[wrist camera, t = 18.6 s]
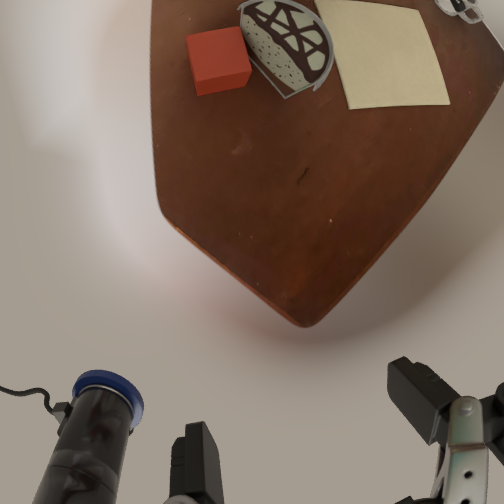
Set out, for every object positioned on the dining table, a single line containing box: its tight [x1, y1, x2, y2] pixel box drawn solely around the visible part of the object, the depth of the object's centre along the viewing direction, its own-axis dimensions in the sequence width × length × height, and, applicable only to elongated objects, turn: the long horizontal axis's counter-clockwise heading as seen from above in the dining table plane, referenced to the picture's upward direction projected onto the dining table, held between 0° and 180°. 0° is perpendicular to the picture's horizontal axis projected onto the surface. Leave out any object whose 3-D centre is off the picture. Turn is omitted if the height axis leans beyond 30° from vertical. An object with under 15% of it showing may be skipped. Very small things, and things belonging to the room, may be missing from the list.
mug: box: [434, 0, 483, 24], centre depth 30 cm, size 10×7×7 cm
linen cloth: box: [314, 0, 450, 109], centre depth 35 cm, size 20×18×1 cm
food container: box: [237, 0, 334, 99], centre depth 29 cm, size 12×6×10 cm, turn 39°
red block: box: [185, 26, 252, 96], centre depth 30 cm, size 6×6×6 cm
